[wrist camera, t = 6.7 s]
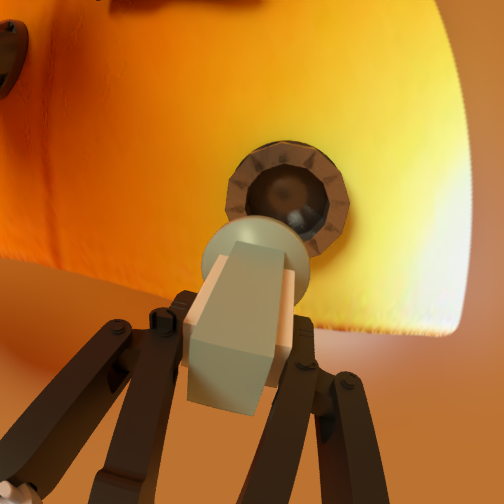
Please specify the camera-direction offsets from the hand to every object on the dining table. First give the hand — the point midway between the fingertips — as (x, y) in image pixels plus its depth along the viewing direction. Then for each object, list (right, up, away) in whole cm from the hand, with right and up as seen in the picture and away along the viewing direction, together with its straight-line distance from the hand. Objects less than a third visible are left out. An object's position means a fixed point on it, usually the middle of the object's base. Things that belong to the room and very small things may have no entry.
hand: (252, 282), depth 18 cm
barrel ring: (+4, +8, +15) cm, 17 cm away
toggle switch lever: (0, +1, +2) cm, 2 cm away
